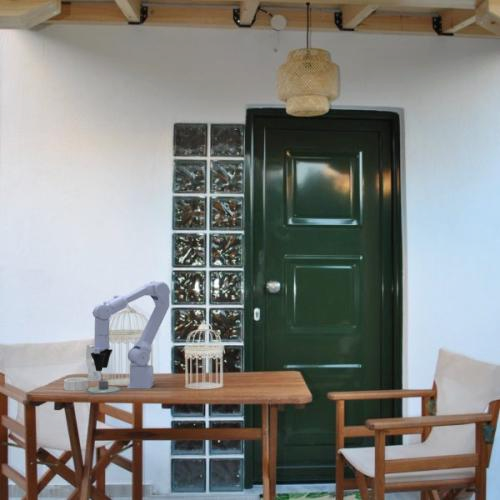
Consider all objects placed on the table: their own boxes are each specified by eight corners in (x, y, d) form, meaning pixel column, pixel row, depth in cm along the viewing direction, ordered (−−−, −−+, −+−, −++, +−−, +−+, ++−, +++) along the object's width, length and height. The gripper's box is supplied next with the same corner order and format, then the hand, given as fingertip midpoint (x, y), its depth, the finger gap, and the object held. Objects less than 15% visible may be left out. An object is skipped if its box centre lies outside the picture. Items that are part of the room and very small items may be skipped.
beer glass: (98, 382, 274) (98, 346, 274) (83, 381, 275) (83, 346, 276) (105, 379, 281) (105, 344, 281) (90, 378, 282) (90, 344, 283)
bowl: (90, 387, 264) (90, 377, 264) (83, 391, 255) (83, 381, 255) (68, 387, 264) (68, 377, 264) (61, 391, 255) (61, 381, 255)
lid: (122, 387, 262) (122, 379, 262) (114, 393, 250) (114, 384, 250) (92, 387, 262) (93, 378, 262) (84, 393, 250) (84, 384, 250)
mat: (123, 388, 262) (123, 387, 262) (115, 394, 249) (115, 393, 249) (92, 387, 263) (92, 386, 263) (82, 394, 250) (82, 393, 250)
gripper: (97, 332, 264) (97, 366, 264) (86, 337, 250) (86, 372, 250) (114, 333, 264) (114, 366, 264) (104, 337, 249) (104, 372, 249)
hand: (101, 369), depth 257 cm, fingers open, 7 cm apart
